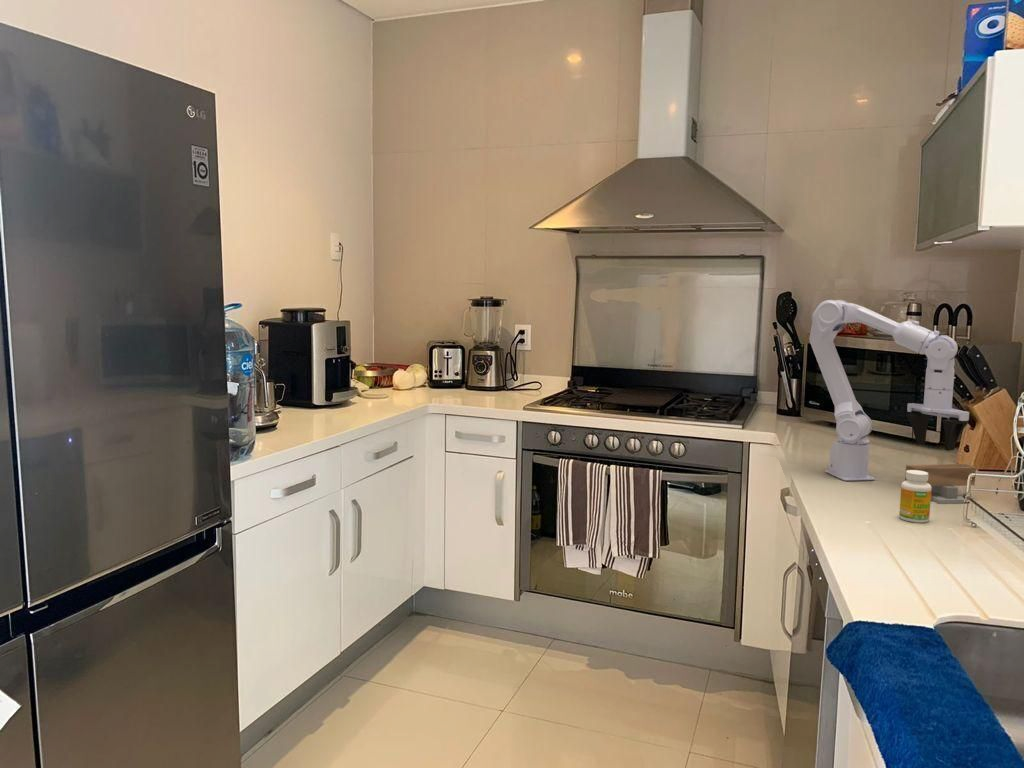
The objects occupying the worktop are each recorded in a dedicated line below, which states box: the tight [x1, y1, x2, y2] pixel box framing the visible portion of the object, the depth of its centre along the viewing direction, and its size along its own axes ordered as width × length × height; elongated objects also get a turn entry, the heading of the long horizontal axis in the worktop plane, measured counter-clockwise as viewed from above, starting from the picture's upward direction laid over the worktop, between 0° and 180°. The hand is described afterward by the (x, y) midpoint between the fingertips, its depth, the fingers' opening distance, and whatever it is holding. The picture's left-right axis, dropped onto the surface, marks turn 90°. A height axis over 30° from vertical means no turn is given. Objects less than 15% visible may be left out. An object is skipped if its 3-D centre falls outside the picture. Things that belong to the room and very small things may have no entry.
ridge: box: [931, 486, 965, 505], centre depth 172 cm, size 9×7×3 cm
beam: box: [904, 463, 977, 487], centre depth 172 cm, size 4×14×4 cm, turn 95°
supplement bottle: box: [898, 470, 932, 524], centre depth 155 cm, size 5×5×10 cm
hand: (934, 446), depth 179 cm, fingers open, 7 cm apart
